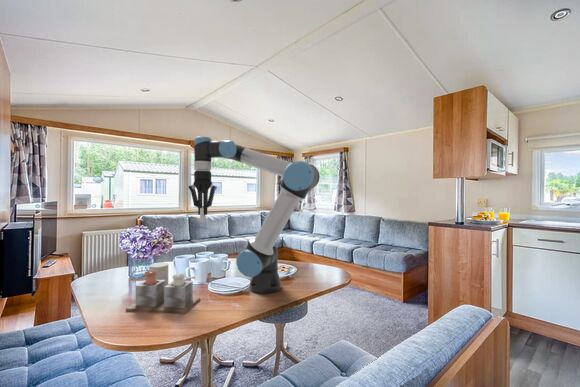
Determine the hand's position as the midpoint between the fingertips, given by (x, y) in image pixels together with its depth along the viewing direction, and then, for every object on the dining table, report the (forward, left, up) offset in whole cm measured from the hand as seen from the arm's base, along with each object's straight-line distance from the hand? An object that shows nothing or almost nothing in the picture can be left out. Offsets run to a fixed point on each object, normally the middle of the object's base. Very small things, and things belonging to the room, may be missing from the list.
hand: (202, 221), depth 133 cm
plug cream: (+3, +17, -30) cm, 35 cm away
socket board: (+9, +17, -32) cm, 38 cm away
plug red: (+15, +17, -29) cm, 37 cm away
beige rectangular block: (+21, +1, -33) cm, 39 cm away
